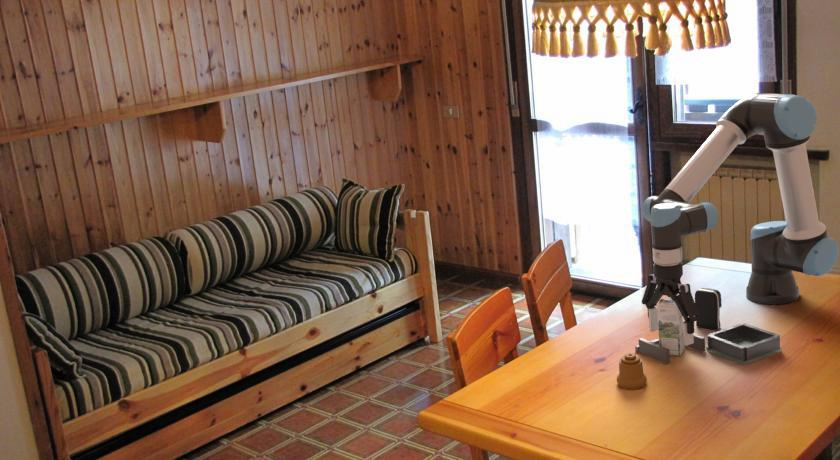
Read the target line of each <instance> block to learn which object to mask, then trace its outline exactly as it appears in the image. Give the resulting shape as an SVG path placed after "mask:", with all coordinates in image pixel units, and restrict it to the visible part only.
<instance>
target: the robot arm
mask: <svg viewBox="0 0 840 460" xmlns="http://www.w3.org/2000/svg"><path fill="white" fill-rule="evenodd" d="M816 124H817V112H816V109H815V107H814V105H813V103H812V102H811V101H810V100H809V99H808V98H806V97H804V96H803V95H796V94H792V93H786V94H784V93H768V92H767V93H766V92H756V93H755V92H754V93H752V94H750V95H747V96H745V97H744V98H741V99H740V100H738V101H737V102H736V103H734V105H732V106H731V107H730V108H729V109H727V110H726V111H725V113H723V114H722V116H721V117H720V118H719V119H718V120H717V121H716V124H715V126H716V128H715V129H714V131H712V133H711V134H710V135H709V136H708V138H706V140H705V141H704V142H703V143H702V144H701V145H700V147H699V148H698V149H697V150H696V152H695V153H694V154H693V155H692V156H691V158H689V159H688V161H687V162H686V163H685V164H684V165H683V167H682V168H681V169H680V171H678V172H677V174H676V175H675V177H673V178H672V180H671V181H670V182H669V183H668V185H667V186H666V187H665V188H664V190H663V191H662V192H661V193H660V194H659V195H652V196H649V197H647V198H646V199H645V200H644V201H643V203H642V207H641V213H642V216H643V217H644V219H645V220H646V221H648V222H649V223H650V230H651V231H650V232H651V233H650V234H651V245H652V261H653V262H654V263H653V264H652V268H653V270H652V271H653V273H652V274H649V275H648V276H647V283H646V287H645V290H644V293H643V296H642V299H641V305H645V306H646V308H647V318H648V323H649V325H648V327H649V332H651V333H652V332H656V331H659V329H658V310H657V305H658V303H659V301H660V300H661V299H662V298H663V296H666V297H668V298H670V299H672V300H673V301H675V303H676V305H677V307H678V309H679V310H680V312H681V314H682V316H683V319H684V320H683V336H684V345H685V346H684V347H687V345H690V344H693V343H694V337H693V333H694V334H695V322H696V321H698V320H700V316H699V313H698V310H697V308H696V305H695V299H694V297H693V293H692V291H691V285H690V283H685V284H683V283H682V281H681V278H682V276H684V275H683V274H684V271H683V267H684V266H683V262H682V261H683V249H682V248H683V247H682V245H683V243H682V242H683V241H682V238H684V237H687V236H691V235H692V236H693V235H695V234H699V233H705V232H708V231H709V230H713V229H714V228H715V227H716V226H717V225H718V223H719V220H720V219H719V212H718V209H717V207H716V206H715V205H714V204H713V203H711V202H708V201H706V202H699V203H697V204H695V203H694V204H693V203H690V202H691V201H692V200H693V198H694V197H695V196H696V195H697V194H698V193H699V191H700V190H701V189H702V188H703V187H704V185H706V183H707V182H708V181H709V180H710V178H711V177H712V176H713V175H714V173H715V172H716V171H717V170H718V169H719V167H720V166H721V165H722V164H723V163H724V162H725V160H726V159H727V158H728V157H729V156H730V154H731V153H732V152H733V151H734V150H735V148H737V146H738V145H743V144H745V143H746V141H747V140H748V139H749V138H750V137H753V136H756V135H760V136H763V138H764V143H765V147H766V148H767V149H768V150H770V151H772V154H773V155H772V156H773V158H774V164H775V165H774V166H775V170H776V174H777V175H776V176H777V180H778V185H779V191H780V197H781V201H782V207H783V212H784V219H785V220H774V221H766V222H761V223H758V224H755V225H753V227H752V228H751V229H750V257H751V258H750V260H751V261H750V262H751V273H750V276H749V280H748V284H747V286H746V289H745V293H746V294H745V295H746V298H747V299H748V300H750V301H751V302H755V303H758V304H764V305H782V304H787V303H792V302H795V301H796V300H798V299H799V298H800V288H799V286H798V285H797V281H796V278H795V274H794V273H793V272H797V273H801V274H803V275H806V276H812V277H813V276H814V277H821V276H824V275H827V274H828V273H830V272H831V270H832V269H833V268H834V267H835V264H836V262H837V261H838V259H839V253H840V252H839V251H840V247H839V244H838V241H836V240H835V239H834V238H833V237H829V236H828V233H827V232H828V231H827V226H826V225H825V224H824V223H823V222H821V221H820V220H819V216H818V215H819V214H818V207H817V202H816V197H815V192H814V186H813V181H812V180H813V179H812V175H811V174H812V173H811V170H810V169H811V167H810V162H809V157H808V151H807V144H808V142H809V141H810V140H811V135H812V133H813V132H814V130H815V129H816V127H815V125H816Z"/></svg>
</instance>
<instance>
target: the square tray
mask: <svg viewBox="0 0 840 460" xmlns="http://www.w3.org/2000/svg"><path fill="white" fill-rule="evenodd" d="M705 350H706V351H707V352H710V353H711V354H714V355H717V356H719V357H720V358H721V357H722V358H724V359H726V360H728V361H730V362H731V361H732V362H733V363H734V362H735V363H736V364H739V365H741V366H746V365H749V364H752V363H755V362H757V361H760V360H763V359H766V358H768V357H771V356H775V355H777V354H780V353H782V352H783V348H782V347H781V335H780V334H777V333H775V332H771V331H768V330H766V329H763V328H760V327H758V326H754V325H751V324H748V323H745V322H744V323H738V324H735V325H732V326H729V327H726V328H723V329H719V330H716V331H713V332H711V333H709V334H708V335H707V346H705Z"/></svg>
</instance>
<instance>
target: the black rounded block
mask: <svg viewBox="0 0 840 460" xmlns="http://www.w3.org/2000/svg"><path fill="white" fill-rule="evenodd" d="M694 302H695V305H696V308H697V310H698V313H699V316H700V320H698V321H695V322H696V323H695V325H696V327H698V328H702V329H707V330H715V331H719V330H720V328H721V321H720V320H721V319H720V309H721V308H722V294H721V292H720V290H718V289H714V288H708V287H707V288H706V287H701V288H699V289H697V290H695V293H694Z"/></svg>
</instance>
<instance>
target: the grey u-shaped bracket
mask: <svg viewBox="0 0 840 460" xmlns="http://www.w3.org/2000/svg"><path fill="white" fill-rule="evenodd" d="M693 337H694V343H693V344H690V345H687V346H685V345H684V347H687V348H690V349H692V350H694V351H697V352H700V353H705V352H706V337H704V336H702V335H700V334H697V333H695V332H694V333H693ZM683 339H684V336H683ZM634 348H635V352H637V353H639V354H641V355H643V356H645V357H648V358H650V359H652V360H655V361H657V362H660V363H662V364H664V365H669V364H671V356H670V351H669V349H667V348H665V347H662V346H660V345H659V337H658V338H656V339H652V340H648V339H645V338H643V337H640V338H638V344H637V345H635V347H634Z"/></svg>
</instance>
